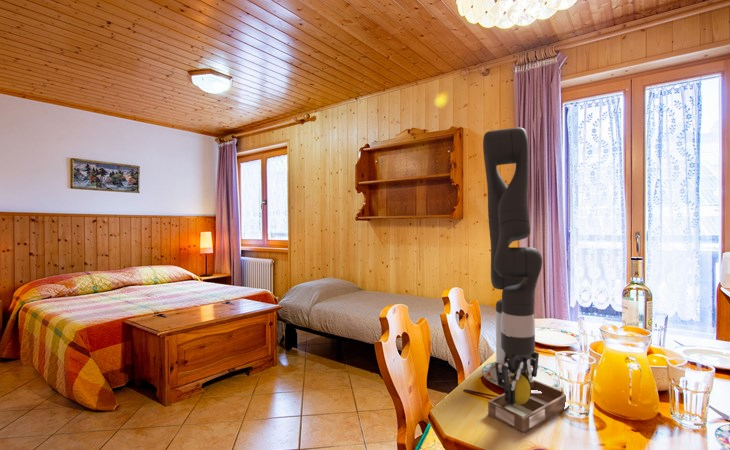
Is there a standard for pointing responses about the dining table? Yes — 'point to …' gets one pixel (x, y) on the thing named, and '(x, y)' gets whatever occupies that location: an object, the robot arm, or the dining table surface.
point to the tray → (528, 408)
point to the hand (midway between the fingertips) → (517, 399)
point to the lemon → (521, 390)
